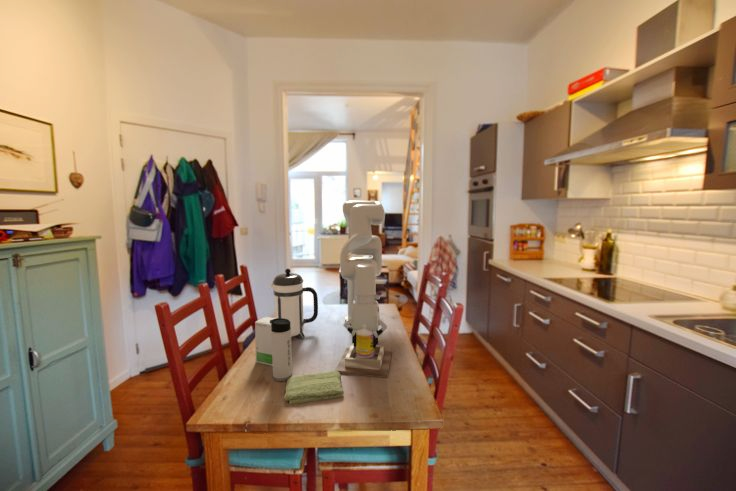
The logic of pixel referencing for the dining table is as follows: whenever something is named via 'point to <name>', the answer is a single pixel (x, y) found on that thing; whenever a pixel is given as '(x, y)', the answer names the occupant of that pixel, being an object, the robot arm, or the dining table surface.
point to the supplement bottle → (364, 343)
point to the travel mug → (281, 349)
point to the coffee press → (292, 301)
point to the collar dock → (365, 363)
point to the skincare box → (263, 341)
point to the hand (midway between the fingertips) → (365, 345)
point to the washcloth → (314, 387)
